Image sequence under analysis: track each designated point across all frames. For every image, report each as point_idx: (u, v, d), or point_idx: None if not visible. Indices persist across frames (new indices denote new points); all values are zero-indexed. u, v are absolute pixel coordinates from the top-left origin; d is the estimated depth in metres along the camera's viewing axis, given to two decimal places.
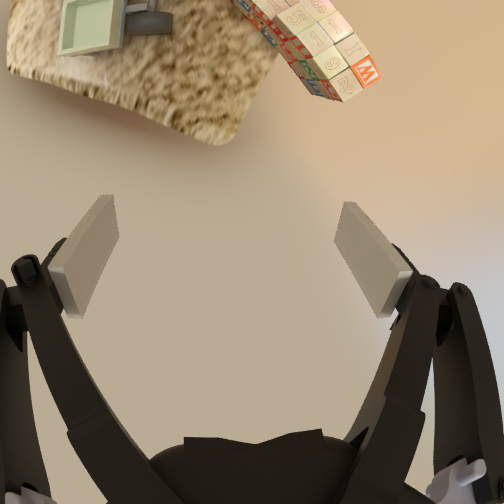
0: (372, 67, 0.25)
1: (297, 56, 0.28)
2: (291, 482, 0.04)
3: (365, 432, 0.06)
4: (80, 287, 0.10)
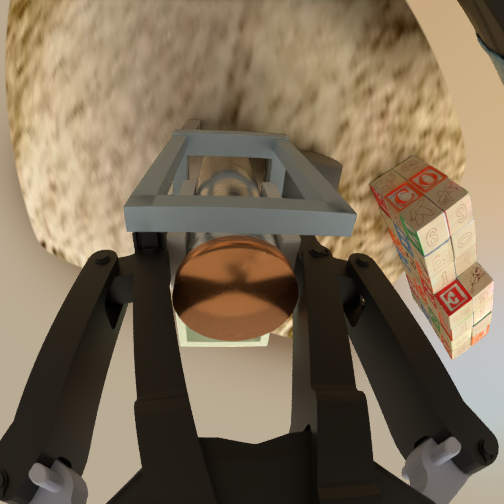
0: (485, 330, 0.25)
1: (431, 308, 0.28)
2: (291, 482, 0.04)
3: (308, 428, 0.06)
4: None
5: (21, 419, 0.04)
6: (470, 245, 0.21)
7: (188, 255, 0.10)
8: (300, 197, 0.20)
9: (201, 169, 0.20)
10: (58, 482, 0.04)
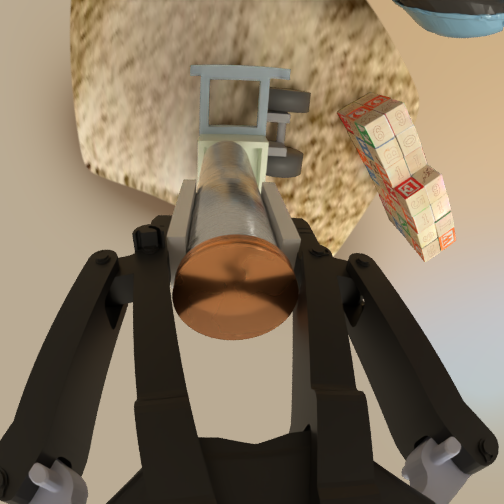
0: (451, 235, 0.33)
1: (398, 212, 0.36)
2: (291, 483, 0.04)
3: (308, 428, 0.06)
4: None
5: (21, 419, 0.04)
6: (416, 147, 0.29)
7: (188, 254, 0.10)
8: (281, 108, 0.29)
9: (201, 169, 0.20)
10: (57, 482, 0.04)
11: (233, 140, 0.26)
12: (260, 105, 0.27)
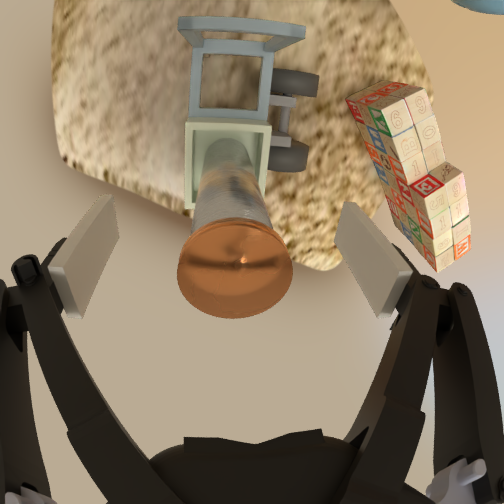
0: (466, 243, 0.29)
1: (410, 215, 0.31)
2: (291, 483, 0.04)
3: (365, 432, 0.06)
4: (80, 287, 0.10)
5: None
6: (436, 140, 0.24)
7: (192, 235, 0.11)
8: (286, 91, 0.24)
9: (203, 164, 0.21)
10: None
11: (229, 122, 0.21)
12: (262, 84, 0.22)
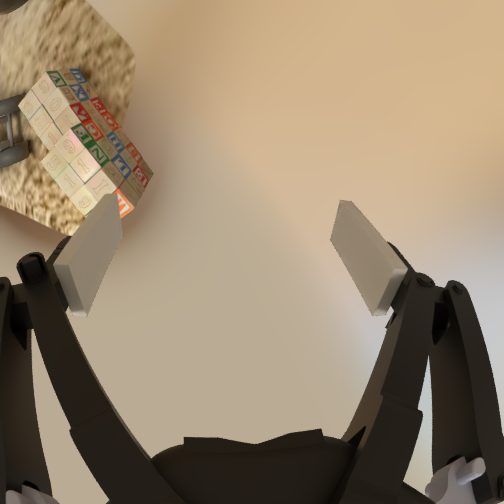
0: (122, 200, 0.30)
1: None
2: (291, 483, 0.04)
3: (362, 431, 0.06)
4: (85, 285, 0.10)
5: None
6: (63, 108, 0.25)
7: None
8: None
9: None
10: None
11: None
12: None
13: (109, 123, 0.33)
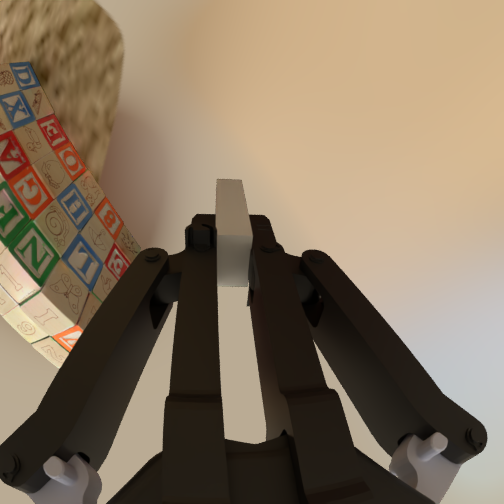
0: None
1: None
2: (291, 483, 0.04)
3: (285, 433, 0.06)
4: None
5: (45, 410, 0.05)
6: None
7: None
8: None
9: None
10: (72, 477, 0.04)
11: None
12: None
13: (68, 164, 0.18)
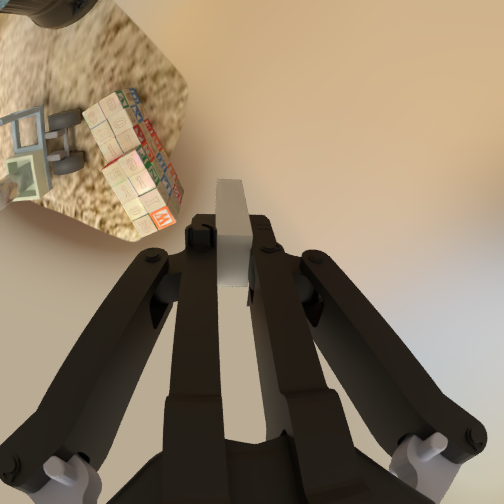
0: (167, 215, 0.40)
1: None
2: (291, 482, 0.04)
3: (285, 433, 0.06)
4: None
5: (45, 410, 0.05)
6: (127, 128, 0.35)
7: None
8: (53, 128, 0.35)
9: None
10: (72, 477, 0.04)
11: (19, 156, 0.32)
12: (37, 130, 0.33)
13: (156, 144, 0.43)
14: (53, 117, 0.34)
